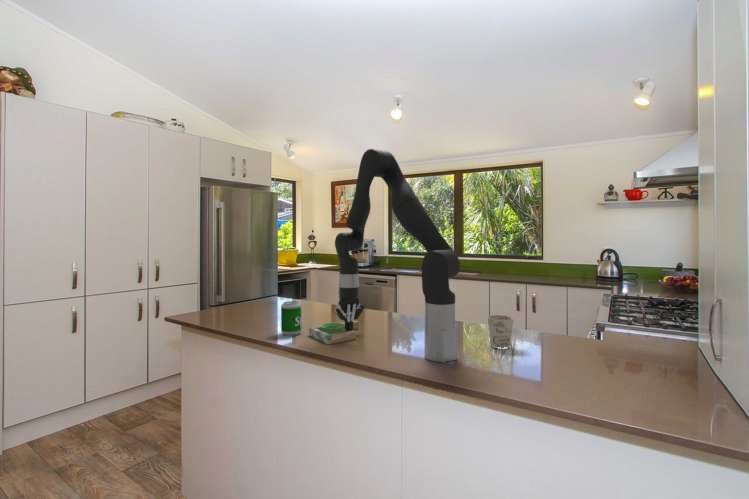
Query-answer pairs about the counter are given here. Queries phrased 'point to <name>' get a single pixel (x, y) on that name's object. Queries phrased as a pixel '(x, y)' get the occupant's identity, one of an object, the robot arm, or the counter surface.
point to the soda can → (291, 318)
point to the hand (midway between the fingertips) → (349, 331)
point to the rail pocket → (335, 337)
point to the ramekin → (332, 328)
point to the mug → (500, 330)
